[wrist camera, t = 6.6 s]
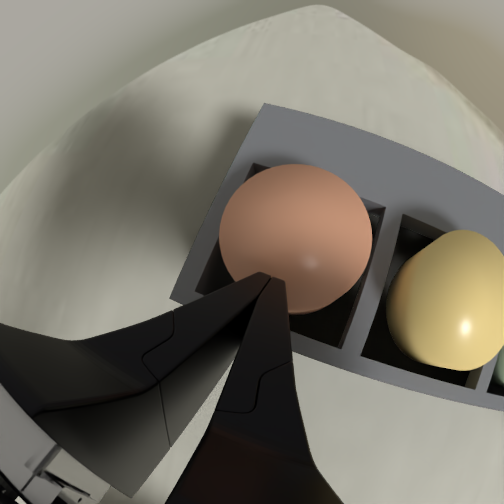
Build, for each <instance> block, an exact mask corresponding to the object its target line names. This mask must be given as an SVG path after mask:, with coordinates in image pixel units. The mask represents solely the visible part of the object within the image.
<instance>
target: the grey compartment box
mask: <svg viewBox="0 0 504 504" xmlns="http://www.w3.org/2000/svg"><path fill="white" fill-rule="evenodd" d="M287 164H303V165H310V166H314V167H318V168H321V169H324V170H326V171H329V172H331V173H333V174H334V175H336V176H338V177H339V178H341V179H342V180H344V181H345V182H346V183H347V184H348V185H349V186H350V187H351V188H352V189H353V190H354V191H355V192H356V193H357V195H358V196H359V198H360V199H361V201H362V202H363V204H364V206H365V208H366V210H367V213H369V214H371V215H374V216H376V217H379V222H378V226H377V230H376V233H375V237H374V241H373V244H372V248H371V252H370V257H369V260H368V262H367V265H366V268H365V271H364V274H363V278H362V281H361V284H360V287H359V290H358V293H357V296H356V299H355V302H354V305H353V308H352V310H351V313H350V316H349V319H348V322H347V324H346V327H345V330H344V332H343V335H342V337H341V340H340V343H339V345H338V348H336V347H333V346H330V345H327V344H325V343H322V342H319V341H316V340H314V339H311V338H308V337H305V336H303V335H300V334H297V333H295V332H292V331H290V334H291V345H292V351H293V352H296V353H298V354H301V355H304V356H306V357H309V358H312V359H315V360H317V361H320V362H323V363H326V364H329V365H332V366H335V367H337V368H340V369H343V370H346V371H349V372H352V373H355V374H359V375H362V376H365V377H368V378H371V379H374V380H378V381H381V382H384V383H388V384H391V385H394V386H398V387H401V388H405V389H408V390H412V391H416V392H419V393H423V394H427V395H431V396H435V397H439V398H443V399H447V400H451V401H455V402H460V403H464V404H469V405H473V406H478V407H483V408H488V409H493V410H499V411H504V387H498V386H494V385H491V384H490V380H491V377H492V374H493V371H494V367H495V364H496V361H497V357H498V354H499V352H498V353H497V354H496V355H495V356H494V357H493V358H492V359H491V360H490V361H489V362H487V363H486V364H484V365H482V366H481V367H478V368H475V369H472V370H470V373H469V376H468V379H467V381H466V384H465V387H462V386H458V385H454V384H451V383H447V382H443V381H440V380H436V379H433V378H429V377H426V376H422V375H419V374H415V373H412V372H409V371H405V370H402V369H399V368H396V367H393V366H389V365H386V364H383V363H380V362H377V361H374V360H371V359H368V358H365V357H362V356H360V355H361V352H362V350H363V347H364V344H365V342H366V339H367V336H368V333H369V331H370V328H371V325H372V322H373V319H374V316H375V313H376V310H377V307H378V304H379V301H380V298H381V295H382V291H383V288H384V285H385V281H386V278H387V275H388V271H389V267H390V264H391V260H392V256H393V252H394V248H395V244H396V240H397V236H398V232H399V228H400V226H402V227H404V228H407V229H409V230H411V231H414V232H416V233H419V234H421V235H423V236H426V237H428V238H430V239H433V240H436V239H438V238H439V237H441V236H442V235H444V234H446V233H448V232H451V231H455V230H470V231H474V232H477V233H479V234H481V235H483V236H485V237H486V238H488V239H489V240H490V241H491V242H493V243H494V244H495V246H496V247H497V248H498V249H499V250H500V252H501V253H502V254H503V256H504V195H502V194H501V193H499V192H497V191H496V190H494V189H492V188H490V187H489V186H487V185H485V184H483V183H482V182H480V181H478V180H476V179H474V178H472V177H470V176H469V175H467V174H465V173H463V172H461V171H459V170H457V169H455V168H453V167H451V166H449V165H447V164H445V163H443V162H440V161H438V160H436V159H434V158H432V157H430V156H427V155H425V154H423V153H421V152H418V151H416V150H414V149H411V148H409V147H406V146H404V145H401V144H399V143H396V142H394V141H391V140H389V139H386V138H383V137H381V136H378V135H375V134H372V133H370V132H367V131H364V130H361V129H358V128H355V127H352V126H349V125H346V124H343V123H339V122H336V121H333V120H329V119H326V118H322V117H319V116H315V115H312V114H308V113H304V112H300V111H296V110H292V109H288V108H284V107H280V106H275V105H271V104H266V103H264V104H263V106H262V108H261V110H260V112H259V113H258V115H257V117H256V119H255V121H254V123H253V125H252V126H251V128H250V130H249V132H248V134H247V136H246V138H245V140H244V141H243V143H242V145H241V147H240V149H239V151H238V153H237V155H236V157H235V159H234V161H233V163H232V165H231V167H230V169H229V171H228V173H227V174H226V176H225V178H224V180H223V183H222V185H221V187H220V189H219V191H218V193H217V195H216V197H215V199H214V201H213V203H212V205H211V207H210V209H209V211H208V213H207V215H206V218H205V220H204V222H203V224H202V226H201V228H200V230H199V232H198V235H197V237H196V239H195V241H194V243H193V246H192V248H191V250H190V252H189V254H188V257H187V259H186V261H185V263H184V266H183V268H182V270H181V272H180V275H179V277H178V279H177V282H176V284H175V286H174V288H173V291H172V293H171V296H170V298H169V299H172V300H174V301H176V302H178V303H180V304H182V305H185V304H187V303H189V302H192V301H194V300H196V299H199V298H201V297H203V296H205V295H208V294H210V293H212V292H214V291H216V290H219V289H221V288H223V287H225V286H228V285H230V284H232V283H234V282H235V280H234V279H233V278H232V276H231V275H230V273H229V272H228V270H227V267H226V265H225V263H224V261H223V258H222V254H221V250H220V244H219V230H220V223H221V219H222V215H223V212H224V210H225V207H226V205H227V204H228V202H229V200H230V198H231V197H232V196H233V194H234V193H235V191H236V190H237V189H238V188H239V187H240V186H241V185H242V184H243V183H245V182H246V181H247V180H248V179H249V178H251V177H253V176H254V175H256V174H257V173H260V172H262V171H264V170H266V169H269V168H272V167H276V166H280V165H287Z"/></svg>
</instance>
